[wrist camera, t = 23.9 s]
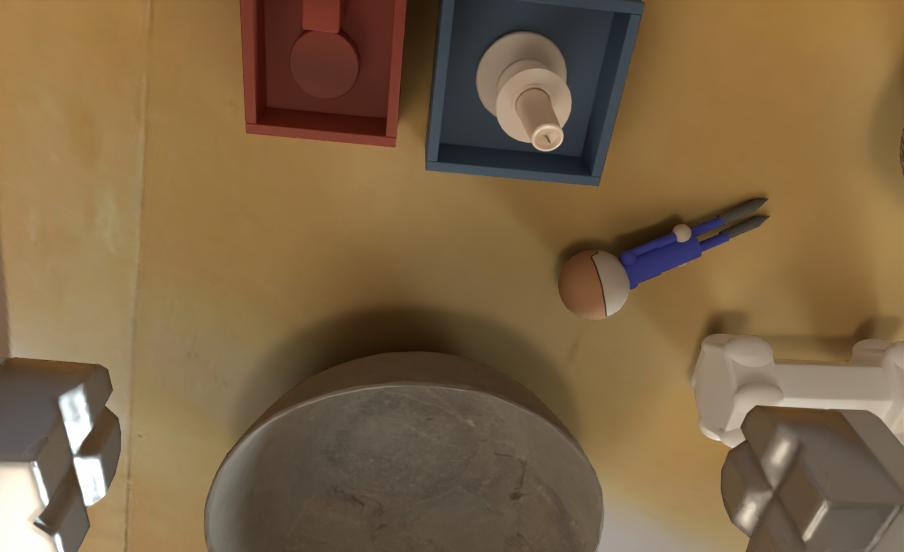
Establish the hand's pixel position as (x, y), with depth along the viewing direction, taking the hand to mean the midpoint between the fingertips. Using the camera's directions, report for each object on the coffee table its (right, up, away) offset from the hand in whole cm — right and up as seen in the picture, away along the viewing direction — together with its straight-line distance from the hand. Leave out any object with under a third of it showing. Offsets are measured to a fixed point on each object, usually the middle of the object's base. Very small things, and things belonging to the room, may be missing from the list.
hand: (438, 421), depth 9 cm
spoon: (-6, +17, +27) cm, 33 cm away
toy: (+14, +5, +37) cm, 40 cm away
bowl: (-3, -11, +46) cm, 48 cm away
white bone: (+26, -4, +43) cm, 50 cm away
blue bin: (+4, +14, +31) cm, 34 cm away
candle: (+4, +13, +30) cm, 33 cm away
